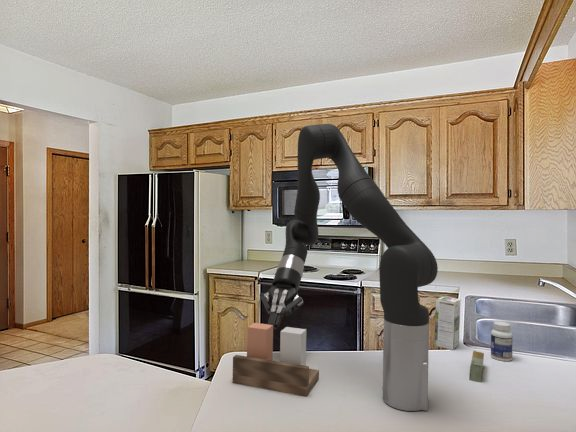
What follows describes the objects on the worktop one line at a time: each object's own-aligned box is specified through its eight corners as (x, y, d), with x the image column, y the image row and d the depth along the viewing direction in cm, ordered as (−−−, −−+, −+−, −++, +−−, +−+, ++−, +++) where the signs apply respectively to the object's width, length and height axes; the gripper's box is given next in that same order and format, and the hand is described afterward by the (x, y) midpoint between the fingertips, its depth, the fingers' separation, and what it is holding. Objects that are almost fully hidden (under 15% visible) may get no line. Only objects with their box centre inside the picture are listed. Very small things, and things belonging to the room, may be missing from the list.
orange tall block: (272, 366, 95) (273, 325, 95) (265, 372, 91) (266, 329, 91) (253, 363, 96) (254, 322, 96) (246, 368, 93) (247, 327, 92)
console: (318, 378, 93) (319, 353, 93) (306, 396, 84) (306, 368, 84) (251, 367, 100) (251, 343, 100) (232, 382, 90) (232, 356, 90)
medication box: (481, 383, 93) (482, 366, 93) (469, 380, 94) (469, 364, 94) (483, 367, 103) (484, 351, 103) (472, 364, 105) (472, 349, 105)
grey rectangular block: (305, 371, 92) (306, 329, 92) (300, 378, 88) (301, 334, 88) (285, 368, 93) (286, 326, 93) (279, 374, 89) (280, 331, 89)
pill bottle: (492, 353, 113) (492, 319, 113) (513, 357, 110) (514, 323, 110) (489, 358, 109) (489, 323, 109) (511, 363, 105) (511, 327, 105)
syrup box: (440, 341, 123) (441, 295, 123) (459, 345, 119) (460, 298, 119) (433, 346, 118) (434, 298, 118) (454, 350, 115) (455, 301, 115)
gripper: (264, 264, 112) (245, 317, 101) (308, 267, 108) (293, 322, 96) (271, 280, 117) (253, 331, 106) (313, 283, 113) (299, 337, 101)
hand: (272, 327), depth 101 cm, fingers closed
